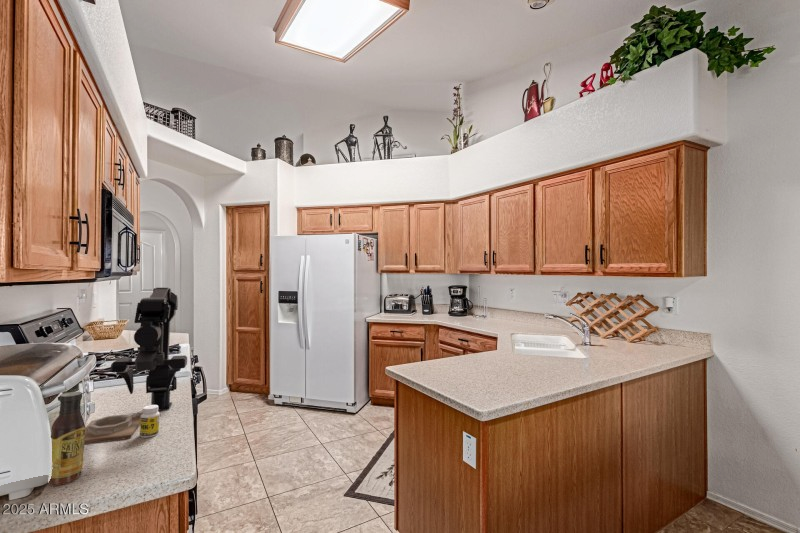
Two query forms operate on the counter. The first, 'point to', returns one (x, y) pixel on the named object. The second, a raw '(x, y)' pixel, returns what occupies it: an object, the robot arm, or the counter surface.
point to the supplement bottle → (149, 421)
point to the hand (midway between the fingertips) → (149, 392)
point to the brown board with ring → (111, 428)
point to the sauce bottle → (67, 440)
